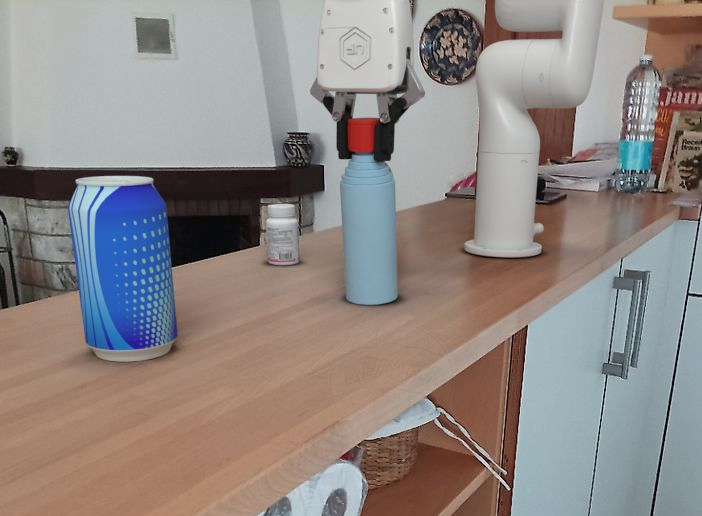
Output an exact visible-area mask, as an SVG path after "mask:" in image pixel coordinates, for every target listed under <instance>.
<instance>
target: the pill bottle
mask: <svg viewBox="0 0 702 516" xmlns="http://www.w3.org/2000/svg"><path fill="white" fill-rule="evenodd" d="M296 213H297V212H296V205H295V204H291V203H272V204H268V205H267V216H268V218H267V219H266V220H265V233H266V234H265V235H266V252H267V253H266V254H267V263H269V265H274V266H292V265H297V264H298V263H300V260H301V259H300V238H299V237H300V236H299V220H298V219H297V218H296V217H295V216H296Z"/></svg>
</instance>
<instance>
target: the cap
mask: <svg viewBox="0 0 702 516" xmlns="http://www.w3.org/2000/svg"><path fill="white" fill-rule="evenodd" d="M376 123H379V117H355V118H354V117H353V119H348V147H349V151H352V152H374V126H375V124H376Z"/></svg>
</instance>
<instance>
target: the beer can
mask: <svg viewBox="0 0 702 516" xmlns="http://www.w3.org/2000/svg"><path fill="white" fill-rule="evenodd" d="M154 181H155V180H154V178H153V177H149V176H140V175H104V176H102V175H101V176H99V175H98V176H88V177H80V178H77V179H75V184H76V188H75V191H74V192H73V195H72V197H71V199H70V200H69V202H68V206H67V208H68V209H67V211H68V218H69V227H70V234H71V242H72V251H73V258H74V264H75V265H74V266H75V272H76V279H77V280H76V281H77V288H78V296H79V302H80V310H81V318H82V324H83V333H84V340H85V344H86V345H87V346H88V347H89V348H90V349H92V351H93V352H94V354H95V356H96V357H97V358H99V359H101V360H103V361H108V362H109V361H110V362H119V363H131V362H141V361H148V360H152V359H157V358H160V357H162V356H165V355H166V354H168V353H169V352H170V351H171V348H172V346H173V343H175V341H176V340H177V338H178V335H179V334H178V324H177V312H176V300H175V290H174V289H175V288H174V278H173V266H172V255H171V254H172V253H171V244H170V243H171V241H170V232H169V221H168V209H167V204H166V201H165V200H164V199H163V197H162V196H161V195H160V194H161V193H159V191H158V190H157V188H156V187H155V185H154Z"/></svg>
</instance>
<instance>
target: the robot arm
mask: <svg viewBox="0 0 702 516" xmlns="http://www.w3.org/2000/svg"><path fill="white" fill-rule="evenodd" d="M410 2H411V1H410V0H324V1H323V5H322V11H321V17H320V24H319V30H318V31H319V32H318V40H317V41H318V43H317V57H316V78H315V79H314V81H313V83H312V85H311V87H310V90H309V93H310V96H312V97H313V98H315V100H317V101H318V102H319V103H320V104H322V105H323V106H324V108H325V109H326V110H327V111H328V113H329V114H330V115H331V118H332V121H334V122H335V123H336V136H335V137H336V138H335V139H336V144H335V145H336V150H337V156H338V159H339V160H352V154H353V153H355V152H352V151H349V147H348V119H353V118H354V112H355V107H356V101H357V95H376V102H377V103H376V104H377V112H378V118H379V123H376V124H375V126H374V160H375V161H385V162H390V161H391V160H392V155H393V154H394V152H395V132H396V131H395V130H396V124H398V123H399V121H400V119H401V117H403V115H404V114H405V113H406V112H407V111H408V110H409V108H410V107H412V106H413V105H415V104H416V103H418V102H420V100H422V99H423V98H425V96H426V91H425V88H424V87H423V84H422V82H421V80H420V78H419V76H418V74H417V72H416V71H415V70H416V69H415V42H414V28H413V27H414V26H413V18H412V16H413V15H412V9H411V3H410ZM604 2H605V0H494V14H495V20H496V22H497V24H498V25H499V26H500V28H502V29H504V30H506V31H510V32H515V33H518V32H519V33H538V32H541V33H543V32H562V36H561V38H543V39H541V38H539V39H538V38H530V39H529V38H528V39H527V38H526V39H523V38H522V39H505V40H501V41H500V40H499V41H497V42H493V43H491V44H489V45H488V46H486V47H485V48H484V49H483V50H482V51H481V53H480V54H479V56H478V58H477V61H476V66H475V85H476V93H477V94H476V95H477V102H478V103H477V104H478V115H479V116H478V117H479V123H478V124H479V127H478V128H479V129H478V130H479V131H478V134H479V135H478V150H477V151H478V154H477V171H476V190H475V210H474V211H475V213H474V234H473V239H470V240H467V241H465V242H464V244H463V250H464V251H465V252H466V253H469V254H471V255H476V256H483V257H488V258H489V257H490V258H491V257H492V258H508V259H509V258H511V259H512V258H528V257H534V256H539V255H541V253H542V249H543V246H542V244H540V243H538V242H537V241H534V236H538V235H541V234H543V232H544V230H545V228H544V225H543V223H541V222H535V214H536V201H537V187H538V177H539V176H538V175H539V163H540V162H539V161H540V152H541V137H540V134H539V131H538V128H537V126H536V124H535V122H534V121H533V119H532V117H531V115H530V114H529V111H528V110H530V109H531V110H532V109H573V108H577V107H579V106H581V105H582V104H584V102H585V101H586V99H587V98H588V96H589V93H590V91H591V88H592V83H593V78H594V73H595V66H596V59H597V53H598V45H599V39H600V31H601V24H602V17H603V12H604ZM331 92H333V93H334V92H335V94H334V95H332V93H331ZM400 94H402V95H400ZM398 95H400V96H399V97H398Z"/></svg>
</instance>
